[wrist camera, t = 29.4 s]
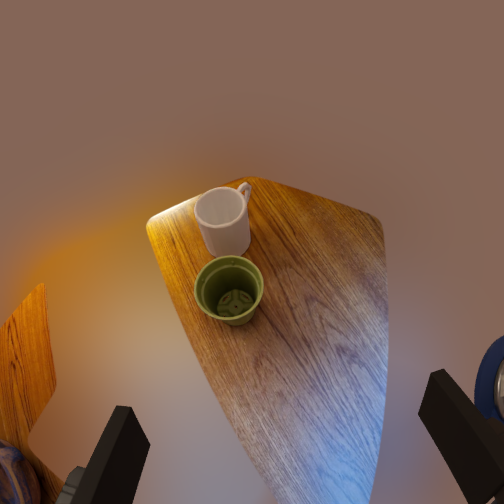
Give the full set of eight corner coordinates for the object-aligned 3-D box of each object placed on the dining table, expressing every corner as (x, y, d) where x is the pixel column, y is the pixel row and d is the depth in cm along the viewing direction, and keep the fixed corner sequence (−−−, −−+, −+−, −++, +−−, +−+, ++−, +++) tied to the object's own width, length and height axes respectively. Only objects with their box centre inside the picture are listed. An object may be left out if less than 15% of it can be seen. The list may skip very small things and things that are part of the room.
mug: (270, 218, 55) (269, 182, 46) (233, 268, 50) (225, 236, 41) (235, 201, 57) (229, 165, 49) (197, 247, 53) (183, 213, 44)
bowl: (7, 501, 24) (-24, 503, 16) (-5, 430, 33) (-38, 424, 25) (63, 527, 24) (31, 537, 16) (47, 447, 33) (10, 446, 25)
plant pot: (195, 312, 46) (179, 291, 39) (232, 270, 50) (225, 243, 42) (239, 348, 43) (232, 334, 36) (277, 302, 46) (278, 279, 39)
